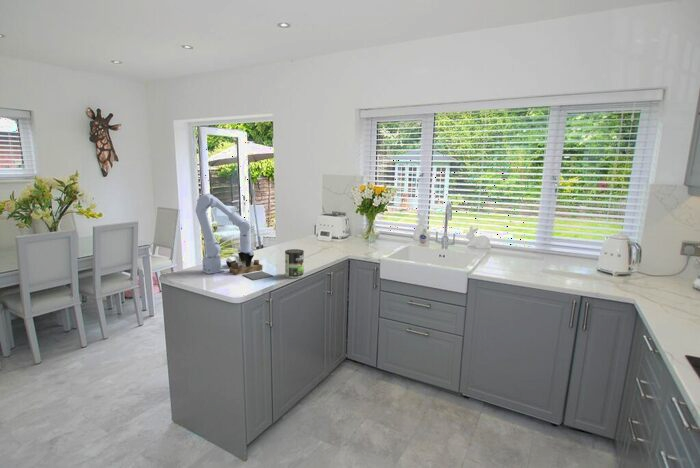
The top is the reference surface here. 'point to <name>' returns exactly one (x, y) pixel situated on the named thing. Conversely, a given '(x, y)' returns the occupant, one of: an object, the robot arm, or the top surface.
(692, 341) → the top surface
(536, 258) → the top surface
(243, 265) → the lever cap
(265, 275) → the gray switch plate
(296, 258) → the coffee can
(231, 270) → the board with knob
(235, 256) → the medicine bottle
